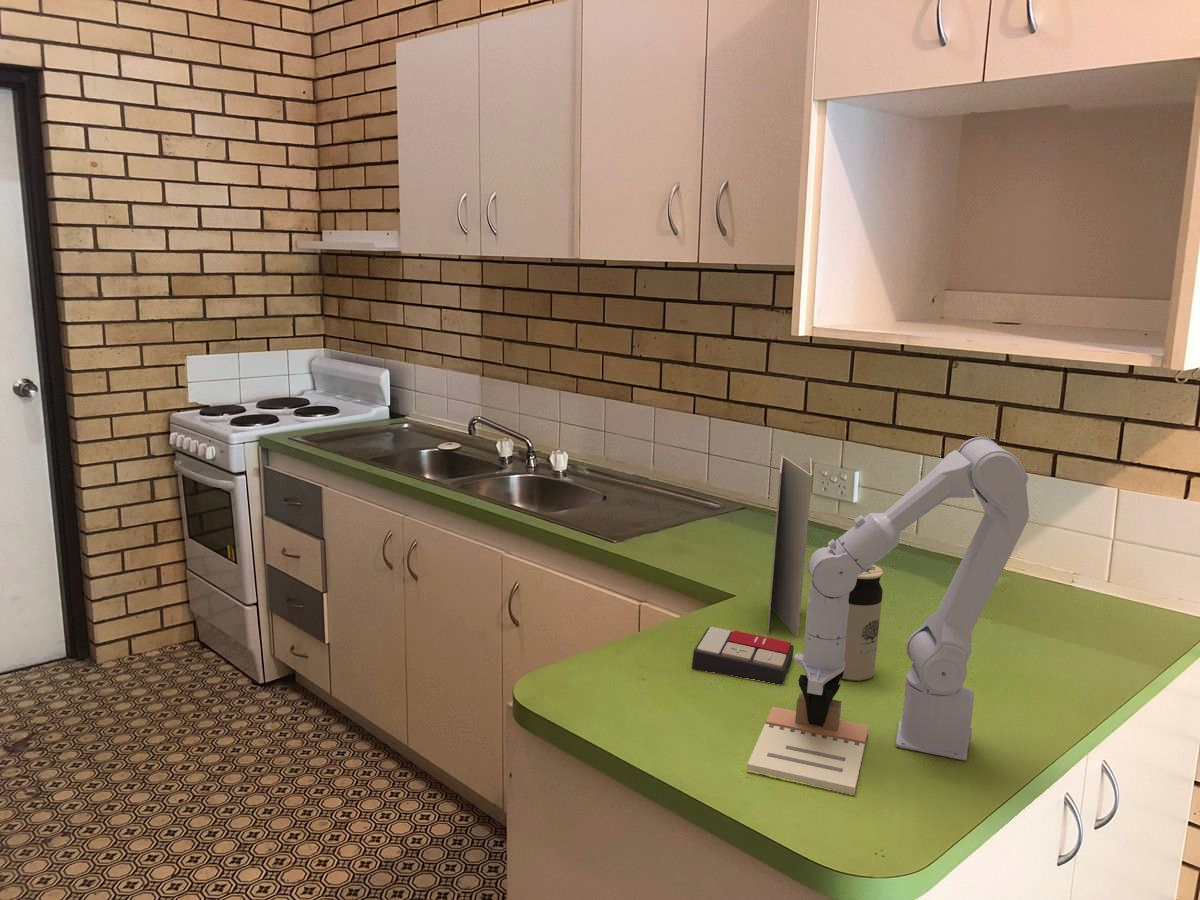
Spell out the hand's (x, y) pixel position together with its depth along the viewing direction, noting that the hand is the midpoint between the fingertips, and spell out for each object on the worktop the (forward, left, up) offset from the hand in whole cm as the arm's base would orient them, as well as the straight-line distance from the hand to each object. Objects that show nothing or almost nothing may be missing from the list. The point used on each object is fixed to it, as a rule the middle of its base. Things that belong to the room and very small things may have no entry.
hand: (817, 719), depth 141 cm
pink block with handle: (0, 0, -2) cm, 2 cm away
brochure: (+12, -40, -2) cm, 42 cm away
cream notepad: (0, +9, -2) cm, 9 cm away
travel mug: (-2, -23, -2) cm, 23 cm away
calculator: (+15, -18, -3) cm, 24 cm away
